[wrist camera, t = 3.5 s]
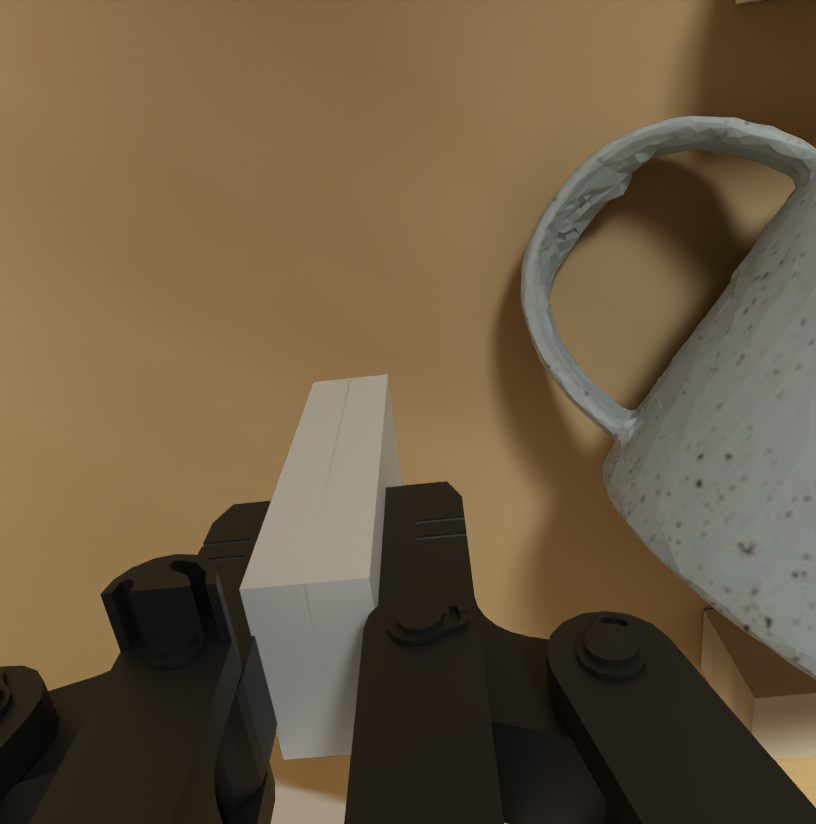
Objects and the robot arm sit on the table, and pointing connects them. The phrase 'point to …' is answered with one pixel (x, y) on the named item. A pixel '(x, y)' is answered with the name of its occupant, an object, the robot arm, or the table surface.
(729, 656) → the beam channel
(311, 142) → the table surface
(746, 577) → the ceramic mug
